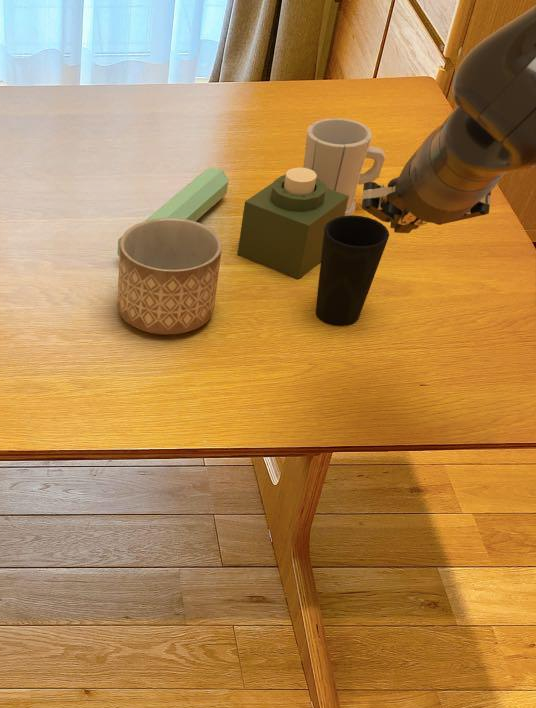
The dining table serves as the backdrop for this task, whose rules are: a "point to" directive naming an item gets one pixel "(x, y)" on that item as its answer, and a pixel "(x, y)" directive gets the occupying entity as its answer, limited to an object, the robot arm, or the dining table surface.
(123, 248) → the planter
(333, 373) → the dining table surface
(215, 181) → the pale green long bar
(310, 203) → the green push button box
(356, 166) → the cup
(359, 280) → the cup
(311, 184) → the cream push button
